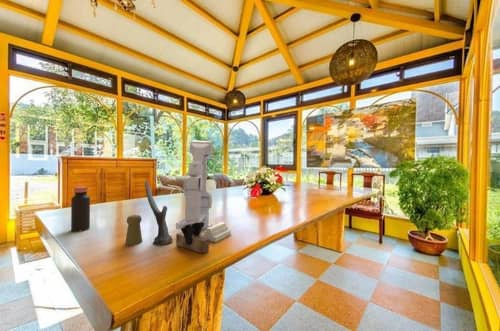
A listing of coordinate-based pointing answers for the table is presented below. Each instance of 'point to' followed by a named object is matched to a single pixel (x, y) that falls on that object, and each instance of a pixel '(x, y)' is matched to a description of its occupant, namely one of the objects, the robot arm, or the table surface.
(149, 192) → the antler
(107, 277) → the table surface
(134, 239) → the cork
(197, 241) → the walnut beam
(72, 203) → the bottle
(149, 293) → the table surface
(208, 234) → the ridge stand
